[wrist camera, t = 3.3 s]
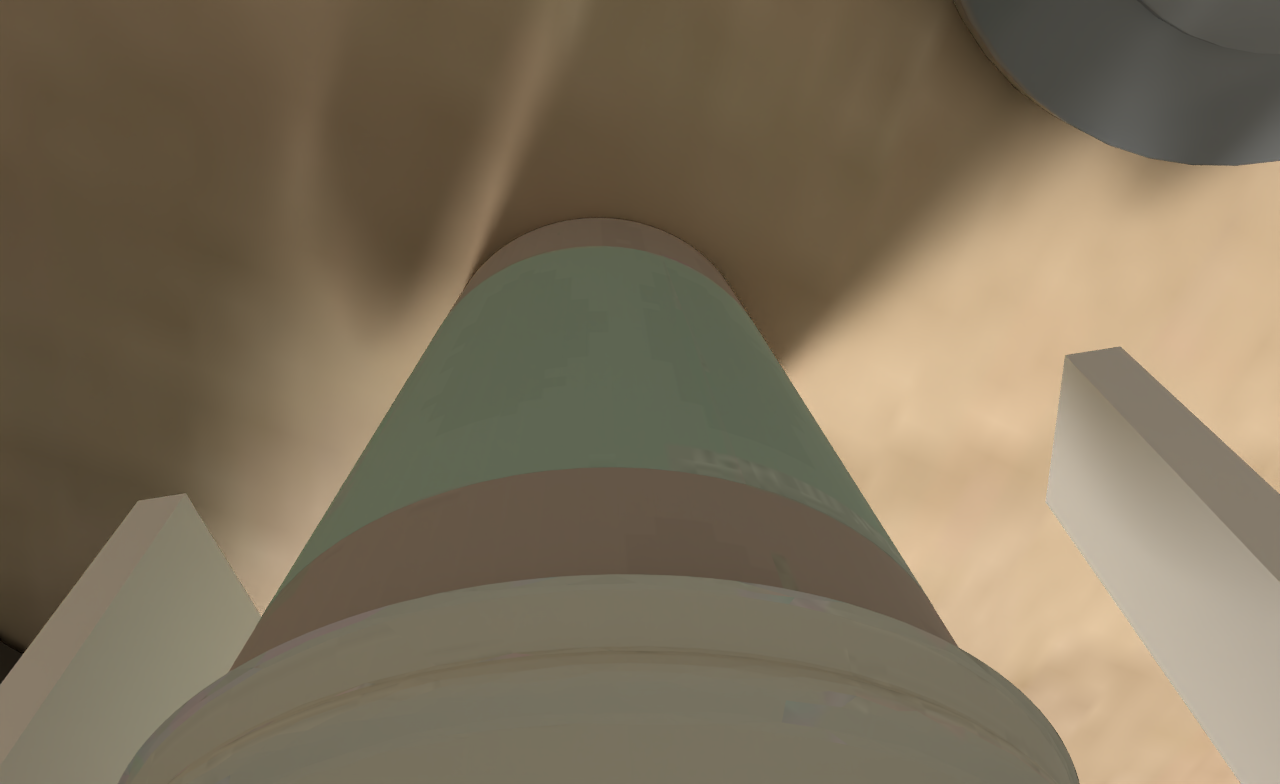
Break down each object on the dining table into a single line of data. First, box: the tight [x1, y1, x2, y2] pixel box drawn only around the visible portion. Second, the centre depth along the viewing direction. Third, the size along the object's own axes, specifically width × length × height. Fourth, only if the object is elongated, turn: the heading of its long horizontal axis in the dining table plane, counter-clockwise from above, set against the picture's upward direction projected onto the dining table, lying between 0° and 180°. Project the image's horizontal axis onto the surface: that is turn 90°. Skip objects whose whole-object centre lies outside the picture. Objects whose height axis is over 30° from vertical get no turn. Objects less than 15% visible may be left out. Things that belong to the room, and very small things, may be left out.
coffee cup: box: [118, 218, 1079, 784], centre depth 11 cm, size 9×8×12 cm
